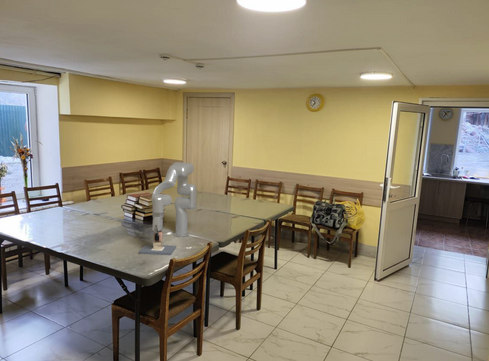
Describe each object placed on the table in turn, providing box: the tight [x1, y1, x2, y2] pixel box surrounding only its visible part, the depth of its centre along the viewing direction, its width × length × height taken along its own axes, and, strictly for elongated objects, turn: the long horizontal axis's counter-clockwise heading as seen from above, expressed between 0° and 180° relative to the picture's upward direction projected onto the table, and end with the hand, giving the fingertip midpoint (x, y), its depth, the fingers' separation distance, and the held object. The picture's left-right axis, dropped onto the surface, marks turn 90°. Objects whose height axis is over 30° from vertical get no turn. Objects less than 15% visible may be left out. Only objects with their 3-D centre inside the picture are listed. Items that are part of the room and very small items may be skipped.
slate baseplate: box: [138, 243, 177, 256], centre depth 237 cm, size 15×22×2 cm
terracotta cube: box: [153, 232, 164, 242], centre depth 235 cm, size 5×5×5 cm
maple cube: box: [152, 240, 164, 250], centre depth 236 cm, size 5×5×5 cm
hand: (158, 239), depth 236 cm, fingers closed on terracotta cube, 4 cm apart
